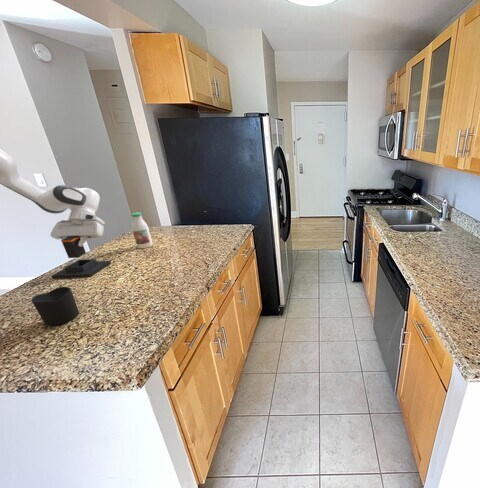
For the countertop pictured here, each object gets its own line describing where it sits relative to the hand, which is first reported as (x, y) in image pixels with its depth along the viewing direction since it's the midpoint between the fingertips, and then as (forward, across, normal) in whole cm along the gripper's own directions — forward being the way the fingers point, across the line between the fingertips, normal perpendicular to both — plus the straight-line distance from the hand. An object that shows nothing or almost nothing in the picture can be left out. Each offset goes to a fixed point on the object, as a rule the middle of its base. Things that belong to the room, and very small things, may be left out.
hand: (72, 246), depth 119 cm
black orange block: (+3, 0, +4) cm, 5 cm away
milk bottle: (-12, +13, +30) cm, 35 cm away
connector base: (+9, 0, +9) cm, 13 cm away
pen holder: (+36, +20, -17) cm, 45 cm away
